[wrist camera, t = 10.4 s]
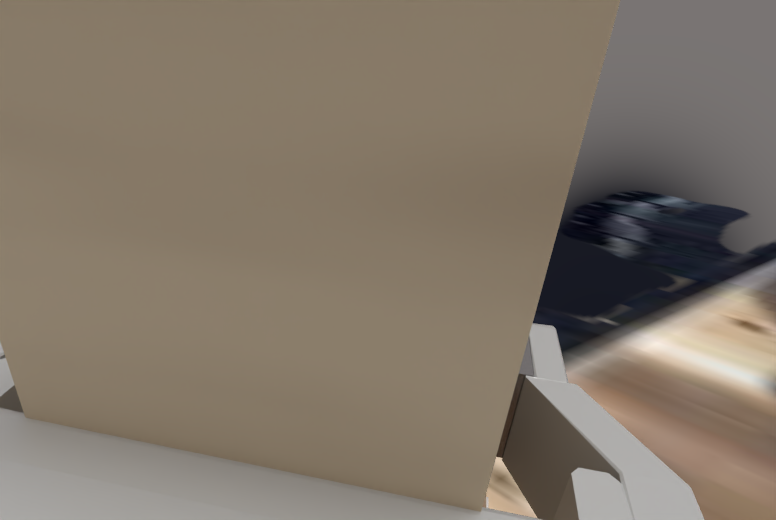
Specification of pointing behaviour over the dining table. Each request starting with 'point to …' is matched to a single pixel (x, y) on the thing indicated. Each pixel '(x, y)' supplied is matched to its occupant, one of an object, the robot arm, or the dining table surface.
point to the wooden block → (288, 222)
